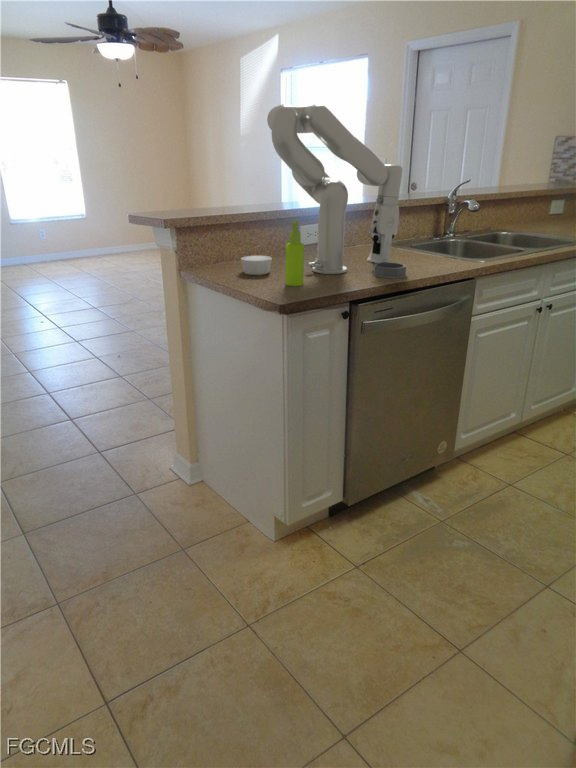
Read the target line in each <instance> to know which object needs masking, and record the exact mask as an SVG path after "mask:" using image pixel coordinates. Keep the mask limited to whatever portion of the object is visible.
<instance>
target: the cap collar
mask: <svg viewBox="0 0 576 768" xmlns="http://www.w3.org/2000/svg"><path fill="white" fill-rule="evenodd" d="M406 271H407V266H406V264H404V263H400V262H393V261H392V262H391V261H389V262H381V263H374V270H373V273H372V275H373V276H374V275H375V276H374V277H377V278H381V277H382V278H383V279H401V278H402V277H403V278H405V277H407V274H406Z"/></svg>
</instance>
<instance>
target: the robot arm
mask: <svg viewBox="0 0 576 768" xmlns="http://www.w3.org/2000/svg"><path fill="white" fill-rule="evenodd" d="M266 121H267V126H268V127H269V129H270V130H271V142H272V144H273V148H274V150H275V152H276V154H277V155H278V156H279V157H280V159H281V160H282V161H283V162H284V163H285V164H286V165H287V167H288V168H289V169H290V170H291V174H292V177H293V179H294V181H295V183H297V184H298V185H299V186H300V187H301V189H303V190H304V191H305V192H306V193H307V195H309V196H310V197H311V198H312V199H313V200H314V201H315V202H316V203H317V204H319V211H318V217H317V219H318V220H317V249H316V250H317V251H316V252H317V253H316V254H317V255H316V258H314V261H313V262H312V261H311V262H310V261H309V262H307V263H306V267H307V268H308V269H311V268H312V271H313V272H315V273H318V274H324V275H337V274H344V273H347V271H348V268H347V266H344V252H345V250H344V249H345V226H346V215H347V207H348V200H349V191H348V189H347V187H346V185H345V183H344V182H342V181H341V180H339V179H337V178H336V179H335V178H331V177H330V176H329V175H328V173H326V171H325V167H324V164H323V162H321V160H320V159H319V158H318V157H317V156H316V155H314V154H313V152H312V151H311V150H309V148H308V147H306V145H305V144H304V143H303V141H302V140H301V139H300V138H299V135H298V134H314V135H315V137H316V138H317V139H319V141H321V142H322V144H323V145H324V146H325V147H326V148H328V150H329V151H330V153H332V154H333V155H335V157H337V158H338V159H340V160H342V161H344V162H346V163H348V164H349V165H351V166H352V167H353V168H355V170H356V177H357V180H358V181H359V182H360V183H361V184H363V185H365V186H372V187H378V190H377V197H376V204H375V207H374V210H373V215H372V219H371V226H370V230H369V232H368V236H369V237H370V238H371V239H372V242H374V243H373V251H372V253H375V254H380V248H381V243H380V240H381V237H382V235H385V230H386V229H387V231H388V233H389V234H392V240H393V239H394V238H395V236H396V235H398V232H399V223H400V221H399V220H400V207H399V206H398V204H399V198H400V193H401V183H402V176H403V166H402V165H399V164H393V163H392V164H391V163H389V164H388V163H386V164H384V163H383V162H382V160H380V158H379V157H378V156H377V155H376V154H375V152H373V151H372V149H370V148H369V147H368V146H366V145H365V144H364V143H363V142H362V141H360V139H358V138H357V137H356V136H354V135H353V134H352V133H351V132H350V131H349V129H347V127H345V125H344V124H343V123H342V122H341V121H340V120H339V118H337V117H336V116H335V114H334V113H333V112H332V111H331V110H330V109H329V108H328V107H327V106H325V105H323V104H321V103H316V104H311V105H301V106H300V105H299V106H297V105H294V106H293V105H289V104H287V103H286V104H285V103H284V104H279V105H277V106H274V107H272V108H271V109H270V111H269V112H268V114H267V118H266ZM389 228H390V229H389ZM378 233H379V234H378ZM377 235H378V238H377Z"/></svg>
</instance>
